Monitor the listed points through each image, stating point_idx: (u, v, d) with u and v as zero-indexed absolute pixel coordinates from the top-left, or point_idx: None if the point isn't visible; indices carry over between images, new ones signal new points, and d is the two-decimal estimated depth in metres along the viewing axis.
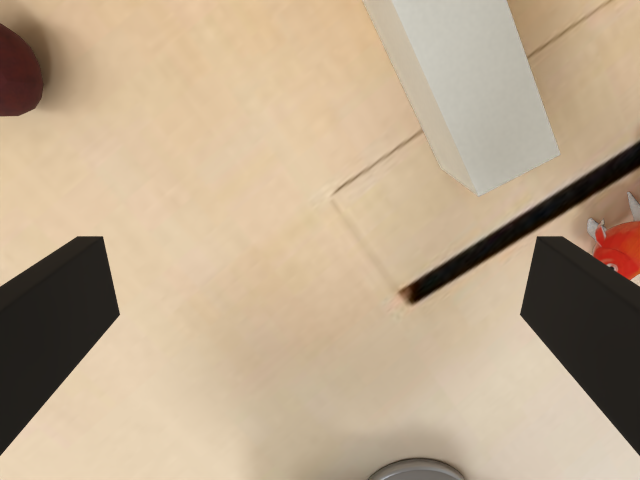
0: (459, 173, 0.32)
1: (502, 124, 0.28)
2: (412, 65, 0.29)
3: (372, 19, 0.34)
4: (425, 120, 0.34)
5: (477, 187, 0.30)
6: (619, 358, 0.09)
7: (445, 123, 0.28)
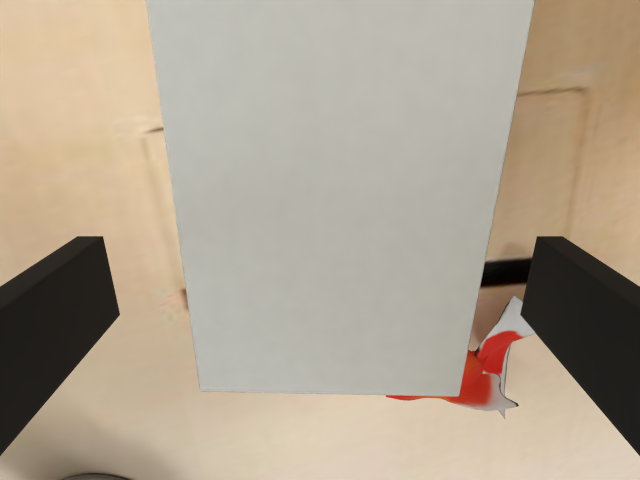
0: None
1: (345, 238, 0.08)
2: None
3: None
4: None
5: (203, 367, 0.09)
6: (618, 358, 0.09)
7: None
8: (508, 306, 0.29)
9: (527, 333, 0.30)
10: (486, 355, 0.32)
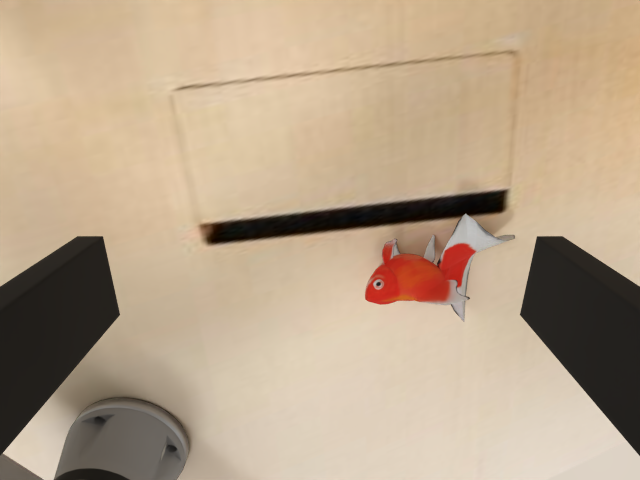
0: None
1: None
2: None
3: None
4: None
5: None
6: (618, 357, 0.09)
7: None
8: (460, 222, 0.36)
9: (478, 246, 0.38)
10: (447, 268, 0.39)
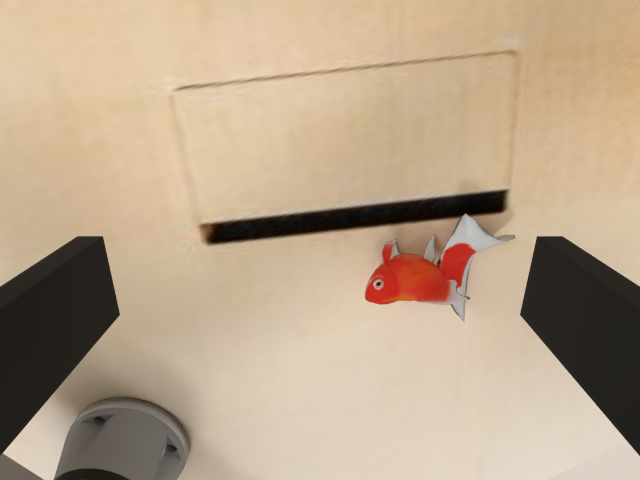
0: None
1: None
2: None
3: None
4: None
5: None
6: (618, 357, 0.09)
7: None
8: (460, 222, 0.36)
9: (478, 246, 0.38)
10: (447, 268, 0.39)
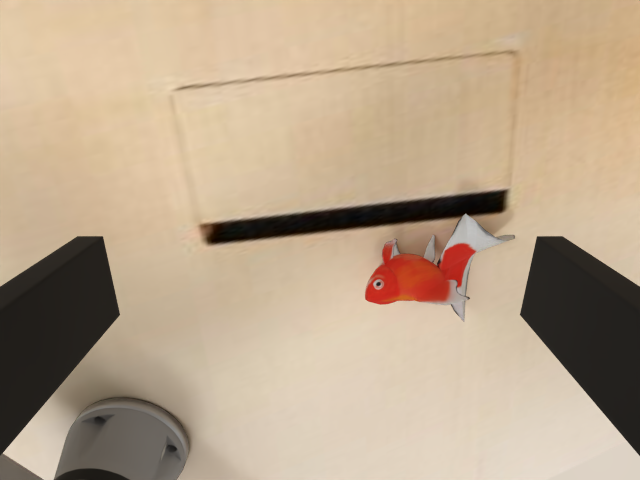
0: None
1: None
2: None
3: None
4: None
5: None
6: (618, 357, 0.09)
7: None
8: (460, 222, 0.36)
9: (478, 246, 0.38)
10: (447, 268, 0.39)
